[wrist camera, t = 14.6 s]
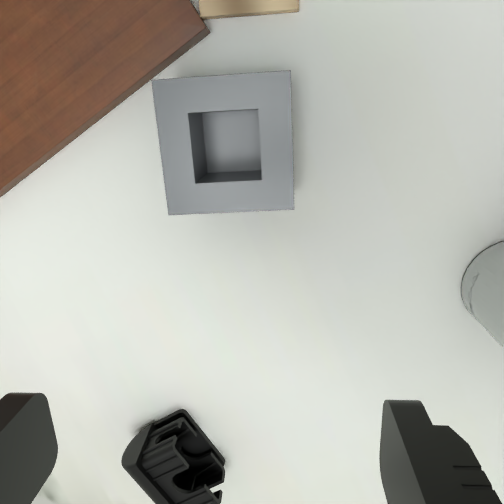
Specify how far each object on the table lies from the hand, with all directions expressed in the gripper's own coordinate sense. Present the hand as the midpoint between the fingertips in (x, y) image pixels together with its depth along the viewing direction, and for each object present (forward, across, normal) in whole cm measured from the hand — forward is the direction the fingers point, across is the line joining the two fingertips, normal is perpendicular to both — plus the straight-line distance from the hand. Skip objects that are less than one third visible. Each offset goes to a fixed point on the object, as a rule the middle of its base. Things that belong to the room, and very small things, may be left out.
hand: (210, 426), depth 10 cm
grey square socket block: (+31, +3, -5) cm, 31 cm away
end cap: (+31, +11, +30) cm, 45 cm away
